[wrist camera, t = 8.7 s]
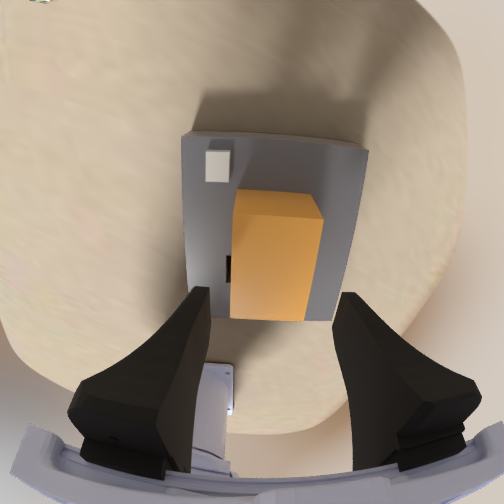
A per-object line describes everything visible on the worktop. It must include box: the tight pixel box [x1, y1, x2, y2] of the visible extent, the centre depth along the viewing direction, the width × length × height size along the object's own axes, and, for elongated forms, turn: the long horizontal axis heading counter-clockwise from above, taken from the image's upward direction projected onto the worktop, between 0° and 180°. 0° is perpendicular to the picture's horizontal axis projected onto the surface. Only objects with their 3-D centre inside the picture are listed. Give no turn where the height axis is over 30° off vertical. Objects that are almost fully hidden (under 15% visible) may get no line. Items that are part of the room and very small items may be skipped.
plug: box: [230, 189, 324, 321], centre depth 17 cm, size 6×4×6 cm, turn 177°
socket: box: [181, 131, 369, 321], centre depth 18 cm, size 12×10×3 cm
